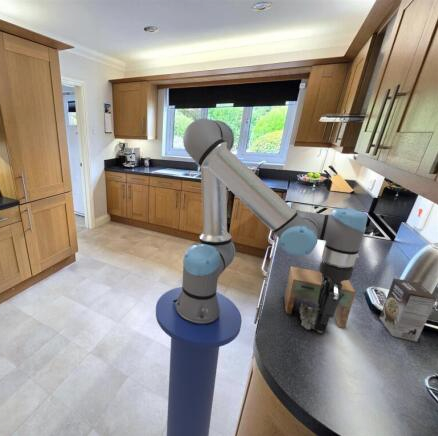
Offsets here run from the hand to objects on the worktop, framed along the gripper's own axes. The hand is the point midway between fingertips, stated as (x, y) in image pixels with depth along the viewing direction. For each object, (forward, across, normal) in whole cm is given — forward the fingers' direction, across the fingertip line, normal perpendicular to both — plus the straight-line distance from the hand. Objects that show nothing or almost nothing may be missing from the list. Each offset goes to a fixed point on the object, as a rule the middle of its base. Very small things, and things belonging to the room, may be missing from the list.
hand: (319, 329), depth 77 cm
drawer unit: (+2, +12, 0) cm, 12 cm away
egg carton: (+2, +6, +1) cm, 6 cm away
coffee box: (+2, +14, -24) cm, 28 cm away
